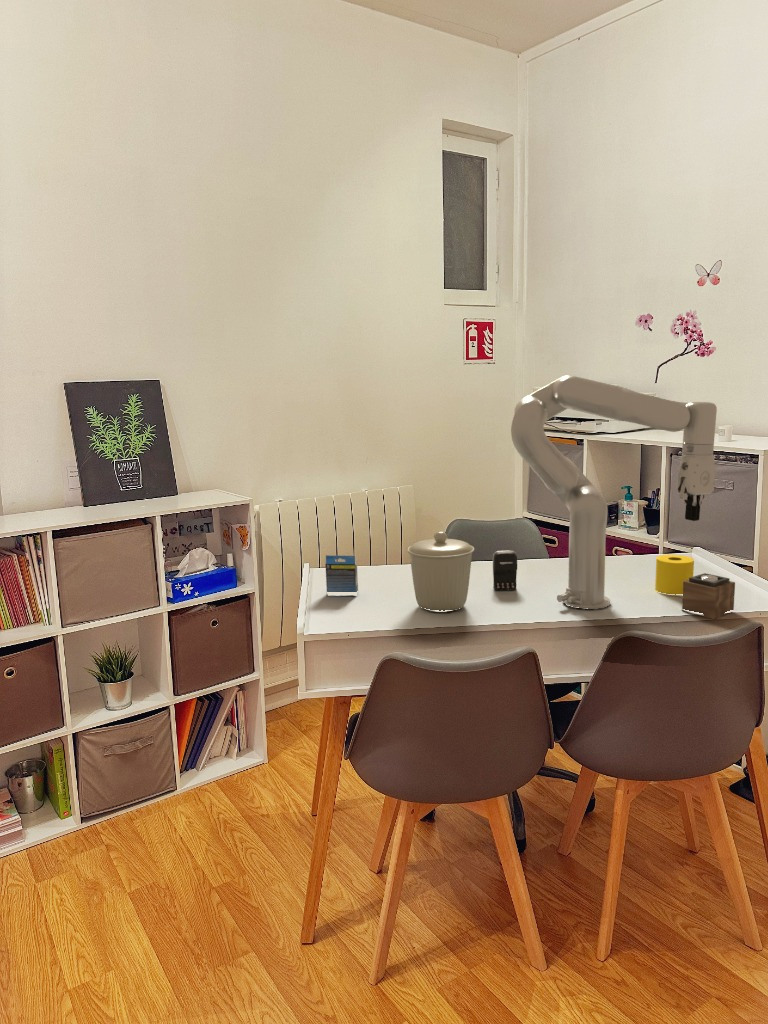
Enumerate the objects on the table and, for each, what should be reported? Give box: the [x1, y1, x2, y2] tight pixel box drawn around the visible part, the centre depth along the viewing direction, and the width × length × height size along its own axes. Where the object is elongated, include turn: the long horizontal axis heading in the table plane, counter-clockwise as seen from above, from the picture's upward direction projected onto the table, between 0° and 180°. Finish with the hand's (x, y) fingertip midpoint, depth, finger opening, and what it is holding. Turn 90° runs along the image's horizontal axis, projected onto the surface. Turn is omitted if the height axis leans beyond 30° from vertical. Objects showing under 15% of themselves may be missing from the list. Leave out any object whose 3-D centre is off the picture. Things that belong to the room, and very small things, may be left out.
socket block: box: [681, 572, 736, 620], centre depth 207 cm, size 9×9×9 cm
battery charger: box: [492, 550, 518, 591], centre depth 231 cm, size 7×4×11 cm, turn 89°
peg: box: [701, 574, 718, 582], centre depth 207 cm, size 4×4×8 cm
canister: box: [406, 531, 475, 611], centre depth 215 cm, size 18×18×21 cm
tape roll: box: [654, 554, 695, 595], centre depth 226 cm, size 10×10×9 cm
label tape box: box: [325, 554, 359, 593], centre depth 231 cm, size 9×4×12 cm, turn 83°
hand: (691, 519), depth 209 cm, fingers closed
